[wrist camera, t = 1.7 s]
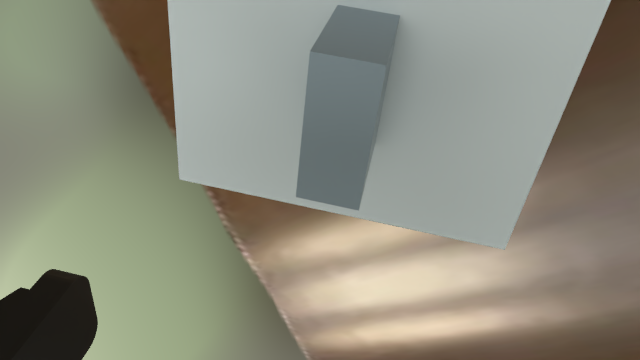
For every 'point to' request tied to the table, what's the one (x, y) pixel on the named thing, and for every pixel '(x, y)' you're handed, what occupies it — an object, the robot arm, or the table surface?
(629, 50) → the table surface
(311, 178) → the lid
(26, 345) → the robot arm
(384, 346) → the table surface
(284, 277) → the table surface
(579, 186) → the table surface
